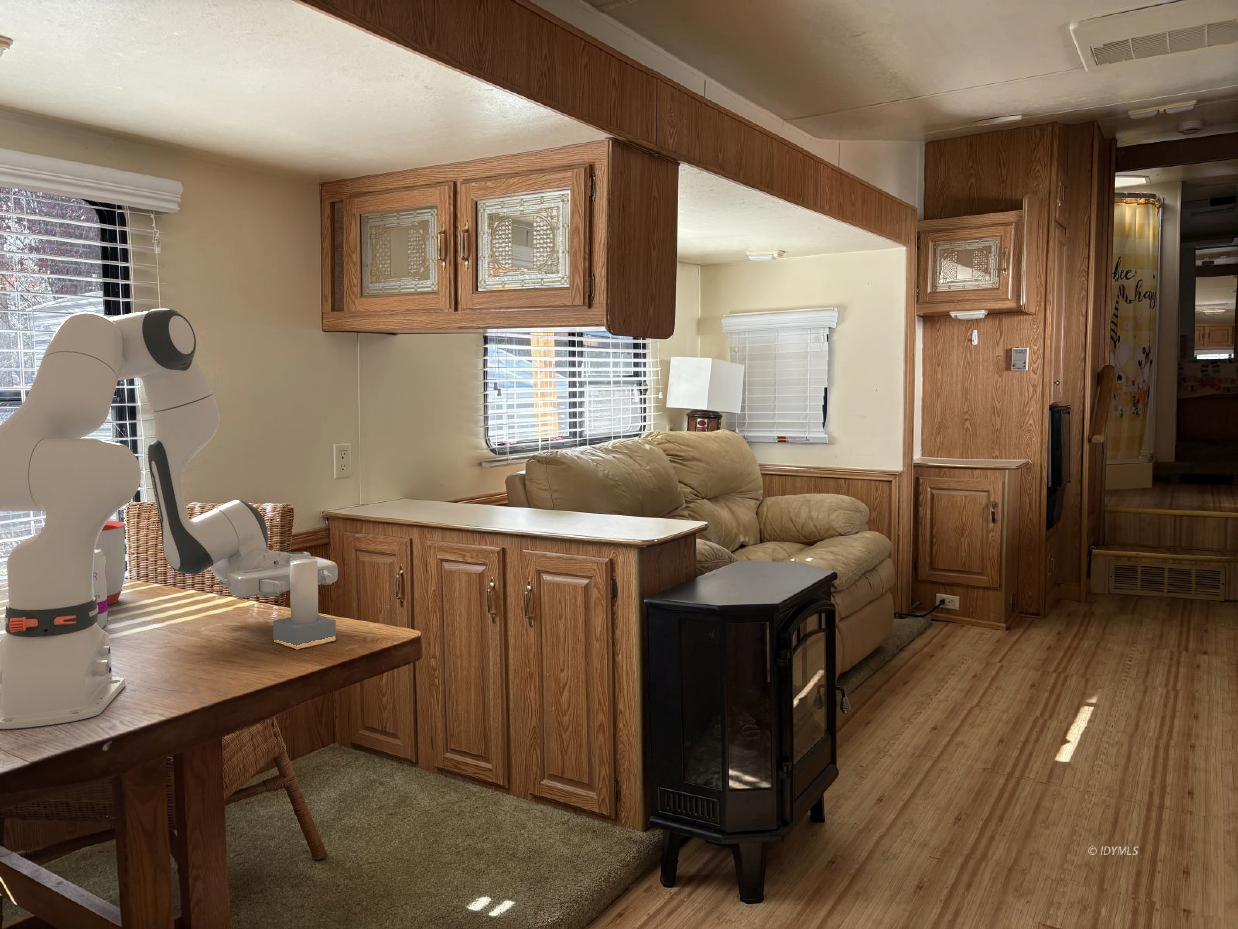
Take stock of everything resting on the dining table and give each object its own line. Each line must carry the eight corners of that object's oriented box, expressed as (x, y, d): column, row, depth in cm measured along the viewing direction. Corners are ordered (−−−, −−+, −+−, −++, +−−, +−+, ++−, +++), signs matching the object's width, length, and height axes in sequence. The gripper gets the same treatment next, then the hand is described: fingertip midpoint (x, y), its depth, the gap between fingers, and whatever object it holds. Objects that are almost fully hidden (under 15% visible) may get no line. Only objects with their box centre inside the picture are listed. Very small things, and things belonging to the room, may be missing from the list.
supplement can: (92, 621, 187) (89, 546, 185) (116, 626, 182) (113, 550, 181) (50, 630, 180) (47, 552, 178) (74, 636, 175) (71, 557, 174)
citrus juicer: (21, 607, 197) (17, 513, 196) (105, 592, 212) (101, 505, 210) (58, 618, 189) (54, 519, 187) (143, 602, 203) (140, 510, 201)
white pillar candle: (319, 622, 172) (318, 562, 171) (292, 624, 170) (291, 564, 169) (316, 616, 176) (315, 558, 175) (289, 618, 174) (288, 560, 173)
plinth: (336, 641, 174) (335, 620, 173) (296, 650, 168) (296, 628, 167) (312, 633, 179) (311, 613, 179) (273, 642, 173) (273, 620, 172)
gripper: (214, 564, 173) (252, 575, 164) (313, 550, 188) (353, 559, 179) (215, 598, 173) (253, 610, 164) (314, 581, 189) (353, 592, 180)
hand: (306, 583), depth 172 cm, fingers open, 8 cm apart
